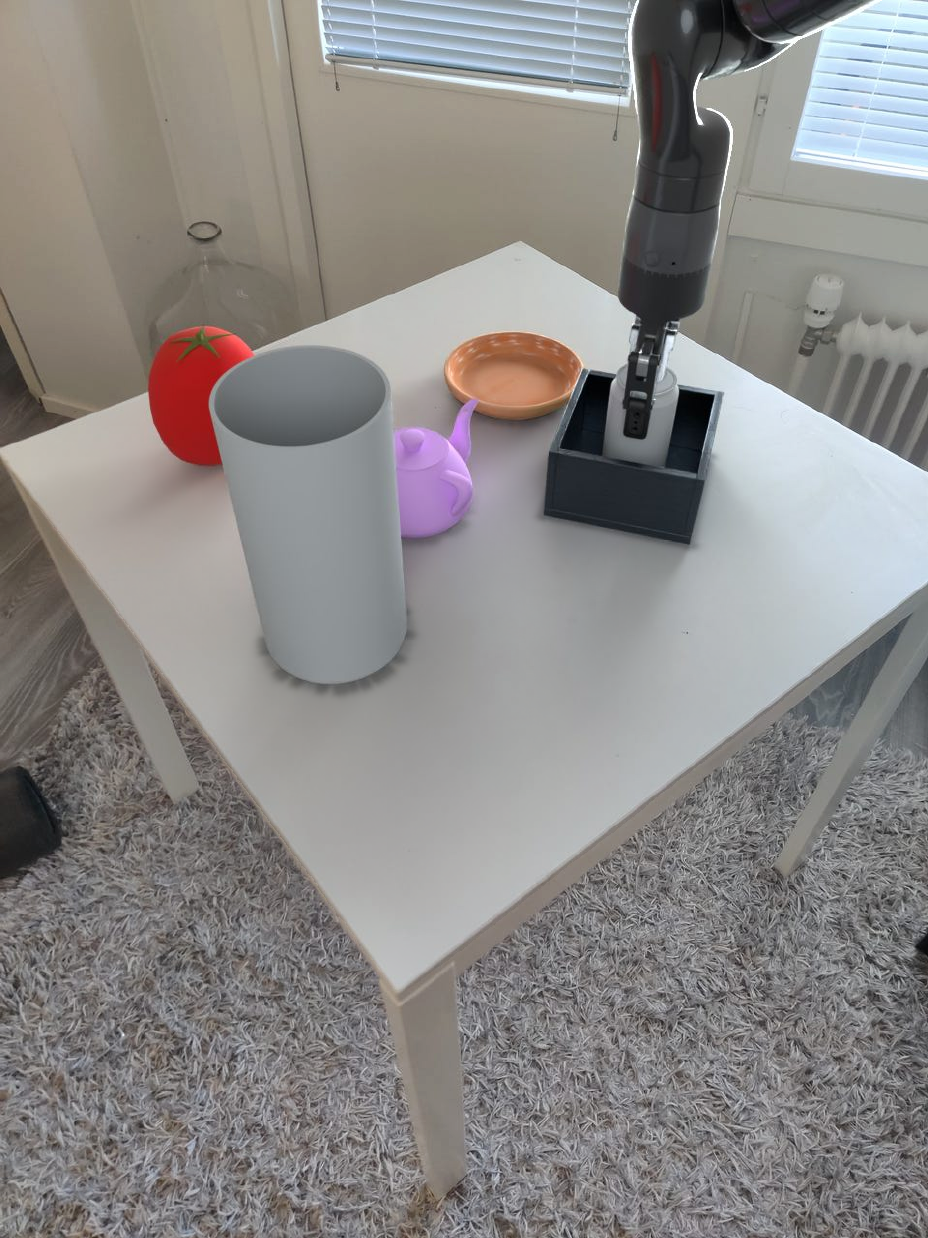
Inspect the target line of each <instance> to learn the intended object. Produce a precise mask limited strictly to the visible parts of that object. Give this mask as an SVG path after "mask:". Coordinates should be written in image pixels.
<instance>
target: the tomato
mask: <svg viewBox="0 0 928 1238" xmlns="http://www.w3.org/2000/svg"><path fill="white" fill-rule="evenodd" d="M255 355H256V354H255V353H254V352H253V351H252V349H251V348H250V346H248V344H247V343H245V341H244V340H242V339H241V338H240V337H239V336H237V334H236V333H231V332H229V331H227V330H225V329H222V328H218V327H215V326H210V325H209V326H207V325H205V324H203V325H202V326H194V327H190V328H186V329H183V330H179V331H176V332H175V333H173V334H172V335H170V336H169V337H168V338H167V339H166V340H165V341H164V342H163V343H162V344H161V345H160V346H159V348H158V350H157V351H156V354H155V356H154V358H153V361H152V364H151V366H150V370H149V374H148V384H147V394H148V402H149V412H150V415H151V419H152V423H153V425H154V427H155V429H156V431H157V433H158V435H159V437H160V439H161V442H163V444H164V445H165V446H166V448H167V449H168V451H169V452H170V453H171V454H172V455H173V456H175V457H177V459H179V460H180V461H181V462H185V463H187V464H191V465H196V466H217V465H223V464H222V460H221V456H220V452H219V447H218V443H217V439H216V435H215V431H214V427H213V423H212V418H211V414H210V410H209V398H210V394H211V391H212V389H213V387H214V385H215V384H216V382H217V381H218V380H219V379H220V378H221V377H222V376H223V375H224V374H225V373H226V372H227V371H228V370H229V369H231V368H232V367H234V366H235V365H237V364H238V363H240V362H242V361H244V360H246V359H248V358H250V357H253V356H255Z"/></svg>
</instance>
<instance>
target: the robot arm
mask: <svg viewBox="0 0 928 1238" xmlns="http://www.w3.org/2000/svg"><path fill="white" fill-rule="evenodd" d="M880 1H881V0H637V1H636V3H635V6H634V9H633V12H632V15H631V18H630V23H629V29H628V53H629V61H630V70H631V75H632V84H633V91H634V100H635V110H636V118H637V119H636V120H637V127H638V128H637V129H638V137H639V139H638V140H639V144H638V150H637V158H636V166H635V172H634V179H633V189H632V190H633V191H632V196H631V199H630V203H629V207H628V210H627V216H626V221H625V227H624V234H623V235H624V236H623V243H622V251H621V258H620V268H619V273H618V274H619V275H618V284H617V290H616V291H617V292H616V293H617V299H618V301H619V303H620V304H621V306H622V307H623V308H624V309H626V310H627V311H628V312H630V313H631V314H634V315H635V319H634V323H632V324H631V328H630V332H629V338H628V343H629V345H630V347H629V353H628V356H627V363H626V364H627V367H626V376H627V379H626V386H625V394H624V399H623V401H622V405H623V409H626V416H625V423H624V429H623V434H624V436H626V437H629V438H634V439H640V440H643V439H645V438H646V436H647V433H648V427H649V421H650V415H651V410H652V409H653V404H654V405H655V400H656V399H654V398H655V393H656V388H657V384H658V383H659V382H661V381H662V380H663V379H664V377H665V372H666V368H667V367H668V362H669V358H670V354H671V353H670V352H673V349H674V347H675V342H676V338H677V335H678V333H679V329H680V325H681V320H682V319H685V318H689V317H691V316H693V315H694V314H696V313H697V312H699V310H701V308H702V307H703V305H704V303H705V300H706V296H707V295H706V293H707V289H708V284H709V279H710V274H711V269H712V265H713V259H714V254H715V250H716V244H717V239H718V235H719V234H718V233H719V230H720V229H719V228H720V221H721V220H720V219H721V203H722V197H723V192H724V186H725V182H726V176H727V171H728V166H729V162H730V157H731V151H732V145H733V128H732V126H731V123H730V121H729V120H728V118H726V116H724V115H723V114H722V113H721V112H719V111H716V110H714V109H712V108H706V107H703V106H699V105H696V89H697V86H698V83H702V82H706V81H711V80H715V79H720V78H725V77H729V76H734V75H738V74H742V73H745V72H746V71H749V70H752V69H754V68H757V67H759V66H761V65H763V64H765V63H767V62H770V61H771V60H772V59H774V58H776V57H777V56H779V55H780V54H781V53H783V52H784V51H785V50H787V49H788V48H789V47H791V46H792V45H793V44H795V43H796V42H797V41H798V40H800V39H802V38H806V37H808V36H810V35H812V34H814V33H817V32H819V31H821V30H823V29H825V28H827V27H830V26H831V25H834V24H836V23H838V22H841V21H842V20H845V19H848V18H849V17H851V16H853V15H855V14H857V13H860V12H862V11H864V10H865V9H867V8H869V7H871V6H873V5H874V4H876V3H878V2H880ZM660 364H661V365H660ZM659 365H660V369H659V371H657V370H658V366H659ZM635 391H638V392H635ZM641 392H644V393H641Z"/></svg>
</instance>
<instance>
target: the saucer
mask: <svg viewBox="0 0 928 1238" xmlns="http://www.w3.org/2000/svg"><path fill="white" fill-rule="evenodd" d="M582 368H583V369H585V367H584V364H583V362H582V360H581V358H580V357H579V356H578V354H577V353H576V352H575V351H574V350H573V349H572V348H571V347H569V346H567V345H566V344H564V343H563V342H561V341H559V340H556V339H554V338H551V337H549V336H546V335H542V334H538V333H533V332H527V331H511V330H510V331H496V332H490V333H485V334H480V335H477V336H475V337H472V338H469V339H468V340H465V341H463V342H462V343H460V344H458V345H457V346H456V347H454V348H453V349H452V350H451V352H449V354H448V356H447V357H446V359H445V361H444V365H443V378H444V382H445V384H446V387H447V389H448V390H449V392H450V394H452V396H454V397H455V398H456V399H457V400H458V401H459V402H461V403H462V404H463V405H465V404H466V403H467V402H468V401H470V400H472V399H475V398H476V399H478V403H477V405H476V407H475V409H474V411H475V412H477V413H479V414H481V415H483V416H487V417H490V418H494V419H498V420H507V421H523V420H533V419H535V418H536V419H537V418H540V417H543V416H545V415H548V414H551V413H552V412H555V411H556V410H558V409H560V408H562V407H563V406H565V405H567V404H568V402H569V400H570V397H571V395H572V392H573V390H574V387H575V385H576V383H577V380H578V378H579V375H580V373H581V370H582Z"/></svg>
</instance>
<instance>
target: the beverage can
mask: <svg viewBox="0 0 928 1238" xmlns="http://www.w3.org/2000/svg"><path fill="white" fill-rule="evenodd" d="M660 365H661V364H660ZM660 365H659V366H658V370H657V371H659V369H660ZM626 367H627V363H626V364H624V365H622V366H621V367H619V368H618V370H617V372H616V373H615V374H616V378H615V379H614V380H613V381H612V384H611V389H610V397H609V405H608V412H607V420H606V428H605V436H604V444H603V452H602V456H604V457H609V458H614V459H620V460H625V461H630V462H636V463H641V464H647V465H652V466H657V467H663V468H665V464H666V458H667V453H668V448H669V443H670V437H671V432H672V427H673V422H674V416H675V411H676V406H677V401H678V395H679V389H678V386H677V384H678V377H677V375H676V373H675V372H674V370H672V369H671V368H669V367H668V366H667V368H666V372H665V377H664V379H663V380H662V381H661V382H659V383H658V384H657V388H656V393H655V398H654V399H656V400H655V405H654V404H653V409H652V410H651V415H650V421H649V427H648V433H647V436H646V438H645V439H643V440H640V439H634V438H629V437H626V436H624V434H623V429H624V423H625V416H626V409H623V405H622V401H623V399H624V394H625V386H626V379H627V376H626ZM635 392H638V391H635ZM641 393H644V392H641Z"/></svg>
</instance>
